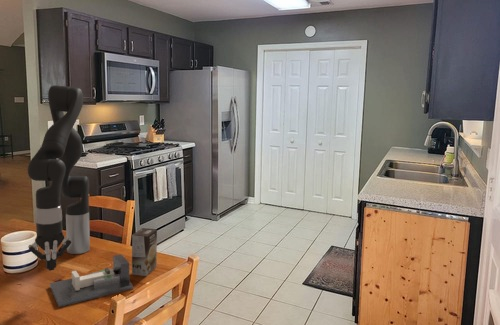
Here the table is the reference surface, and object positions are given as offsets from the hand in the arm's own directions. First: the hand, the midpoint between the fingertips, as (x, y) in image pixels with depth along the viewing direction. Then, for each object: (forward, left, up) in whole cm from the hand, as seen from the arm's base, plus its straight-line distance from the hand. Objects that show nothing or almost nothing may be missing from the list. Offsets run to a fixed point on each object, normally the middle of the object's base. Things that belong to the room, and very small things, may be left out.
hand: (51, 269), depth 127 cm
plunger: (0, +13, -8) cm, 16 cm away
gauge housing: (0, +13, -10) cm, 16 cm away
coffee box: (-4, +34, -10) cm, 35 cm away
